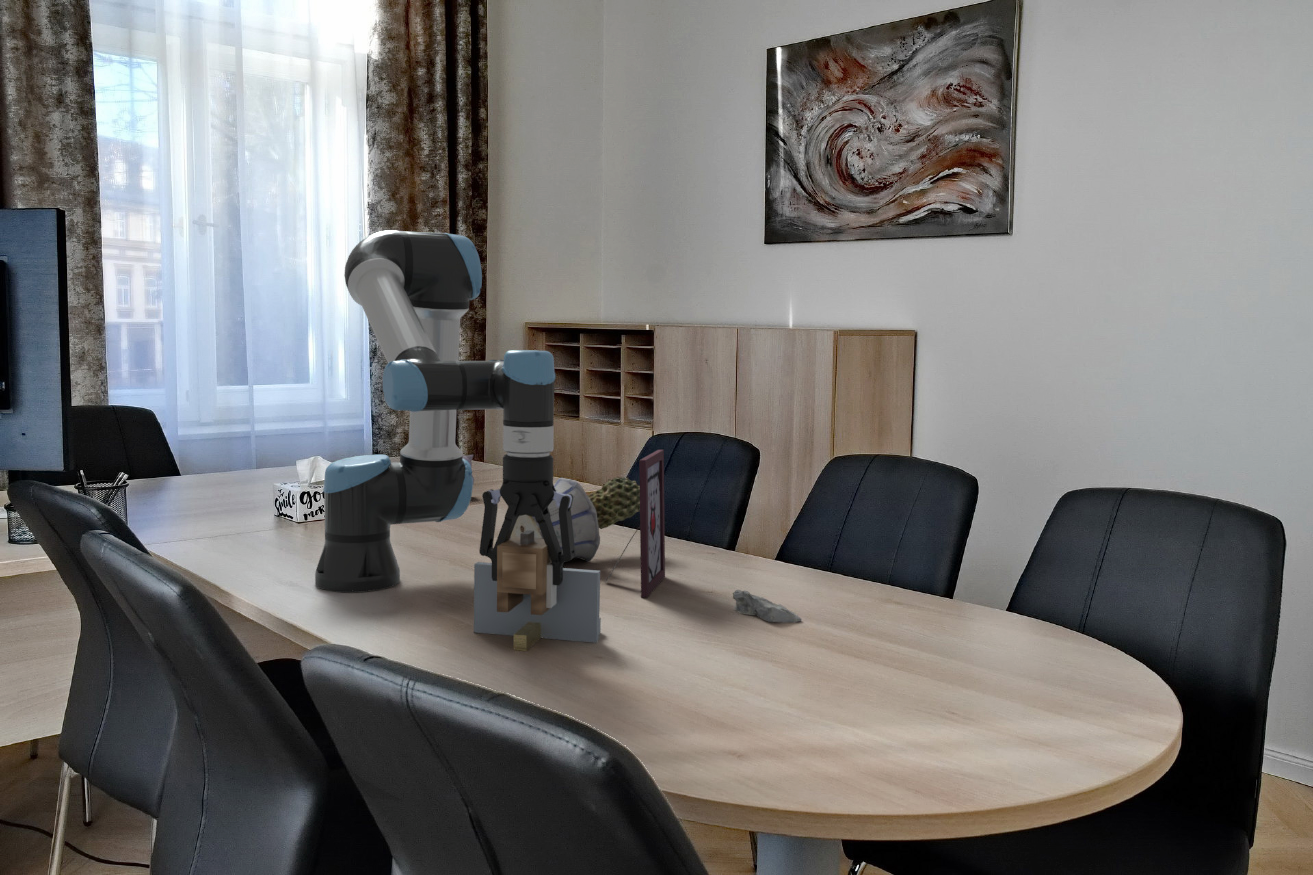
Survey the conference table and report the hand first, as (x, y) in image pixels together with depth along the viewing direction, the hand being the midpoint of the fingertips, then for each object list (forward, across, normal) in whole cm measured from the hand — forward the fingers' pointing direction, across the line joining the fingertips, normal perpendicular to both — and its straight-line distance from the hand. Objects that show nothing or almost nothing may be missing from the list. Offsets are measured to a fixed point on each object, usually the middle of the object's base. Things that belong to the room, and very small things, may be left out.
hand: (526, 603), depth 162 cm
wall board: (+6, 0, +7) cm, 9 cm away
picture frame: (+7, +7, +41) cm, 42 cm away
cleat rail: (+6, 0, +1) cm, 6 cm away
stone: (+7, +34, +27) cm, 44 cm away
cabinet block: (+1, 0, 0) cm, 1 cm away
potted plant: (+7, -8, +60) cm, 61 cm away
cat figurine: (+6, -61, +123) cm, 137 cm away
